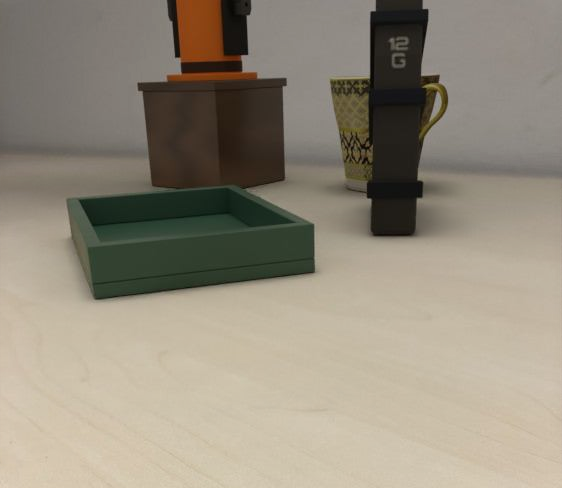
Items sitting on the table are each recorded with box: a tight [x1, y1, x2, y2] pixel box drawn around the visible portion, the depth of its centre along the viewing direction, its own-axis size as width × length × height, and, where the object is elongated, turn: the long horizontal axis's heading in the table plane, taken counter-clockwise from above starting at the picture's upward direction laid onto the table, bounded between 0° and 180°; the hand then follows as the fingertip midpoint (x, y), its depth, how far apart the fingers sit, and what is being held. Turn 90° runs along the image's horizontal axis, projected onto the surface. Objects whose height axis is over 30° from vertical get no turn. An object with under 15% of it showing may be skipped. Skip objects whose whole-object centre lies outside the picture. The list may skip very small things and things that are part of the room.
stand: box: [136, 77, 288, 189], centre depth 72 cm, size 11×11×10 cm
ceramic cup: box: [329, 73, 449, 193], centre depth 65 cm, size 13×10×10 cm
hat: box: [166, 0, 258, 82], centre depth 68 cm, size 9×9×10 cm
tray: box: [65, 185, 316, 300], centre depth 46 cm, size 17×13×3 cm
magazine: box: [366, 0, 430, 236], centre depth 52 cm, size 4×13×15 cm, turn 173°
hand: (211, 56), depth 69 cm, fingers closed on hat, 6 cm apart
